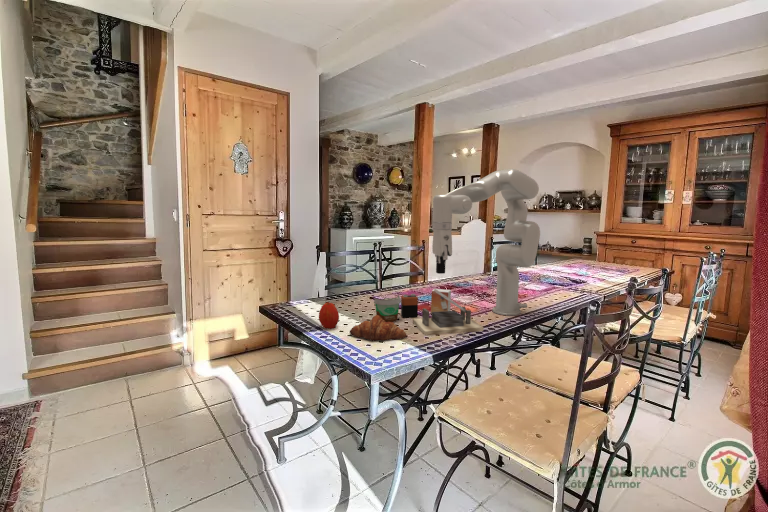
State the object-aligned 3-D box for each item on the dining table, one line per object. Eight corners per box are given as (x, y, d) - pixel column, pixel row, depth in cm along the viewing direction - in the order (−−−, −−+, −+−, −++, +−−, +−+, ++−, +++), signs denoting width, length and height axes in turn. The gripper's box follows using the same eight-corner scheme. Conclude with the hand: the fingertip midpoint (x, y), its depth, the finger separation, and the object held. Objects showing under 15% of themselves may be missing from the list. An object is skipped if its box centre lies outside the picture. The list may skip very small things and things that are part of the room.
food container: (380, 325, 152) (380, 301, 150) (373, 321, 157) (373, 298, 156) (406, 321, 157) (406, 298, 156) (398, 317, 163) (399, 295, 162)
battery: (417, 317, 163) (418, 295, 161) (402, 318, 162) (402, 295, 160) (415, 314, 167) (415, 293, 166) (400, 315, 166) (401, 293, 165)
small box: (430, 313, 169) (431, 290, 168) (433, 310, 175) (434, 288, 173) (447, 315, 166) (448, 292, 165) (450, 311, 172) (451, 289, 170)
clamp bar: (464, 311, 153) (465, 309, 153) (467, 314, 149) (469, 311, 149) (433, 290, 149) (435, 288, 149) (436, 292, 145) (438, 290, 145)
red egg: (316, 325, 151) (315, 300, 150) (336, 323, 154) (335, 298, 153) (321, 332, 144) (320, 305, 142) (341, 329, 147) (341, 303, 145)
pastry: (385, 327, 150) (386, 308, 149) (408, 338, 137) (408, 317, 136) (348, 334, 141) (348, 314, 140) (369, 347, 128) (368, 325, 127)
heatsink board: (465, 318, 160) (466, 302, 159) (483, 330, 145) (484, 312, 144) (412, 322, 155) (413, 305, 154) (425, 335, 140) (425, 316, 139)
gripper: (458, 227, 138) (457, 276, 140) (443, 226, 152) (442, 269, 154) (439, 227, 136) (438, 276, 138) (426, 226, 151) (425, 270, 153)
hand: (440, 273), depth 146 cm, fingers closed
